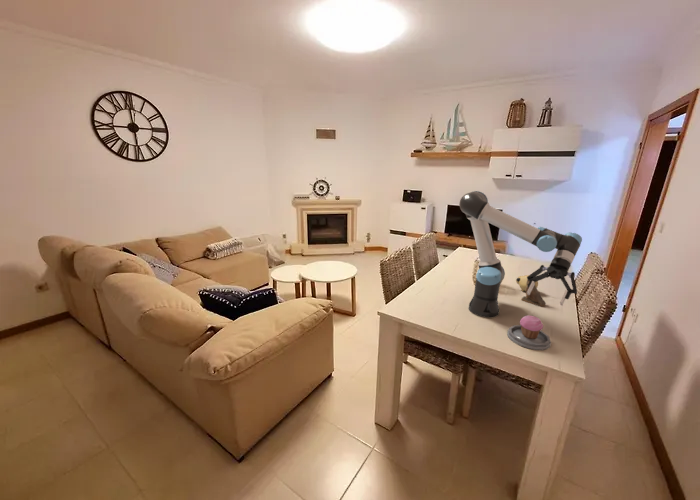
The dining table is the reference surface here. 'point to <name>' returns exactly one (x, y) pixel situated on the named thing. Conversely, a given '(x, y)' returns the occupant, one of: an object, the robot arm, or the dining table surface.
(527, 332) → the cupcake
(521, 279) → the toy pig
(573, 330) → the dining table surface
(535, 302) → the worn brown figurine
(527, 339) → the slate plate
